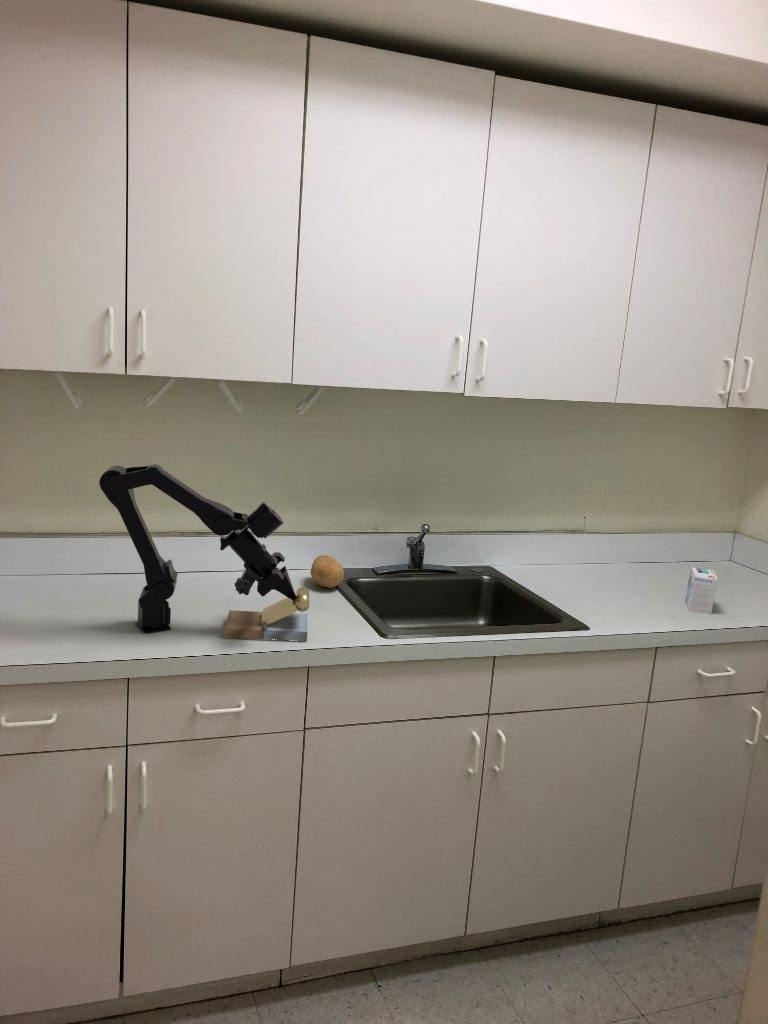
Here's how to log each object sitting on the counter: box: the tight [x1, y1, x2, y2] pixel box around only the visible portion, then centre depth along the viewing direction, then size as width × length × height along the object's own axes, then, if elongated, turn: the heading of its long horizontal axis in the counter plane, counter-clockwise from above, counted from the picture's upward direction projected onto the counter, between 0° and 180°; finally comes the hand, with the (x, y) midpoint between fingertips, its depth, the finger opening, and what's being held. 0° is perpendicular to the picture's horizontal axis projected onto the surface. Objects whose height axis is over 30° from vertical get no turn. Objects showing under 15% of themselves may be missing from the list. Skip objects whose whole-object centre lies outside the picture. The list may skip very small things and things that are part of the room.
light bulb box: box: [684, 566, 719, 615], centre depth 240 cm, size 11×7×11 cm, turn 165°
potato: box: [310, 554, 345, 589], centre depth 230 cm, size 10×14×8 cm
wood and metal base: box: [223, 609, 308, 642], centre depth 193 cm, size 19×12×3 cm, turn 96°
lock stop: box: [261, 586, 310, 625], centre depth 192 cm, size 3×8×12 cm
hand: (294, 598), depth 192 cm, fingers closed, pressing on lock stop
